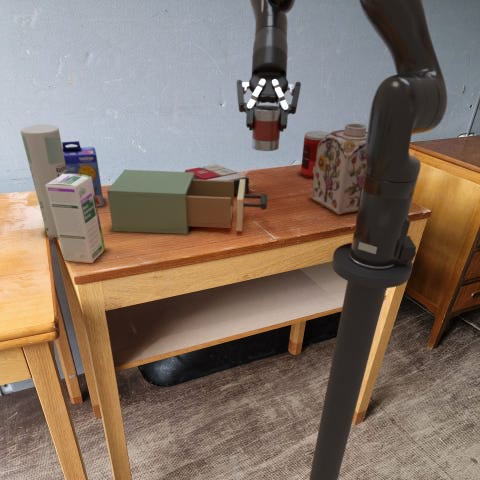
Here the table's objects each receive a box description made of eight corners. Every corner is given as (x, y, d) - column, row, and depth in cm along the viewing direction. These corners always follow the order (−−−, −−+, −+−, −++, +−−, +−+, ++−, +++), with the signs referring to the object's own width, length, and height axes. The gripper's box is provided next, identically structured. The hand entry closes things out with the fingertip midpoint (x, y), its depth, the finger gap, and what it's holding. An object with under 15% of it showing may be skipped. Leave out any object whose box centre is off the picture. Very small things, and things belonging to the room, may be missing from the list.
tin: (278, 144, 99) (281, 105, 94) (279, 151, 94) (281, 111, 90) (252, 143, 99) (253, 104, 95) (251, 150, 95) (252, 110, 90)
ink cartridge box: (60, 210, 100) (45, 144, 92) (60, 202, 105) (45, 137, 96) (104, 206, 103) (94, 141, 95) (103, 198, 107) (93, 135, 99)
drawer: (265, 209, 102) (267, 180, 98) (265, 232, 92) (267, 200, 88) (181, 206, 102) (180, 176, 98) (172, 228, 92) (170, 196, 88)
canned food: (333, 175, 126) (339, 134, 120) (317, 181, 121) (322, 139, 115) (311, 168, 130) (316, 129, 124) (295, 174, 126) (299, 133, 119)
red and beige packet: (217, 162, 121) (249, 174, 110) (217, 178, 123) (249, 192, 113) (181, 168, 116) (212, 182, 105) (183, 185, 118) (213, 200, 108)
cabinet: (195, 209, 103) (194, 172, 98) (187, 234, 92) (185, 193, 87) (129, 206, 103) (124, 169, 98) (113, 231, 92) (106, 190, 87)
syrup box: (92, 264, 81) (77, 185, 72) (62, 260, 81) (44, 182, 73) (105, 250, 85) (92, 174, 77) (77, 247, 86) (61, 172, 78)
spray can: (73, 238, 89) (50, 133, 77) (41, 237, 89) (13, 132, 77) (83, 225, 94) (63, 125, 83) (52, 224, 94) (28, 124, 83)
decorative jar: (347, 192, 115) (360, 117, 104) (377, 208, 106) (394, 128, 96) (309, 199, 110) (318, 121, 100) (337, 215, 102) (350, 133, 91)
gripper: (236, 43, 92) (231, 116, 89) (305, 45, 92) (302, 119, 89) (237, 69, 99) (233, 137, 97) (301, 71, 99) (298, 140, 96)
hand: (266, 128), depth 93 cm, fingers closed on tin, 6 cm apart
